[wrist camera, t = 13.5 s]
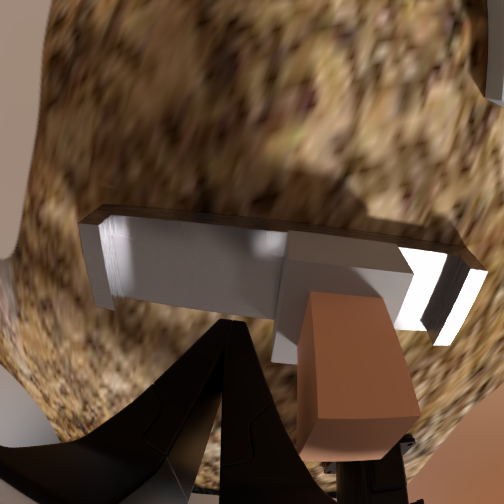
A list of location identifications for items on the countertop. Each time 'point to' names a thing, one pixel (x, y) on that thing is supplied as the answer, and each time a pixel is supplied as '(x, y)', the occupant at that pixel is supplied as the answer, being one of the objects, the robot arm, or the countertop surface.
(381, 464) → the robot arm
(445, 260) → the rail
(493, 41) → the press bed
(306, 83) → the countertop surface
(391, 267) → the lever
